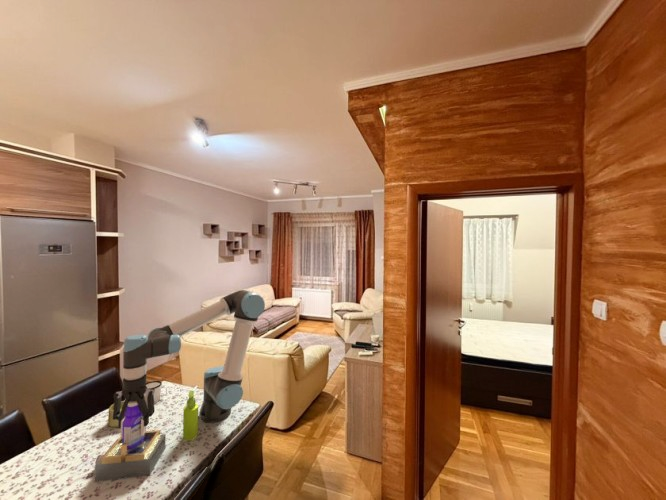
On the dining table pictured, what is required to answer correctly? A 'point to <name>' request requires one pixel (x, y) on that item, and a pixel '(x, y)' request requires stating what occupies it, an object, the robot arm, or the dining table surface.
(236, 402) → the robot arm
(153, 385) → the mug
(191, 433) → the soap dispenser
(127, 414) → the bottle
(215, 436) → the dining table surface
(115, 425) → the mug
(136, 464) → the grey and tan box
